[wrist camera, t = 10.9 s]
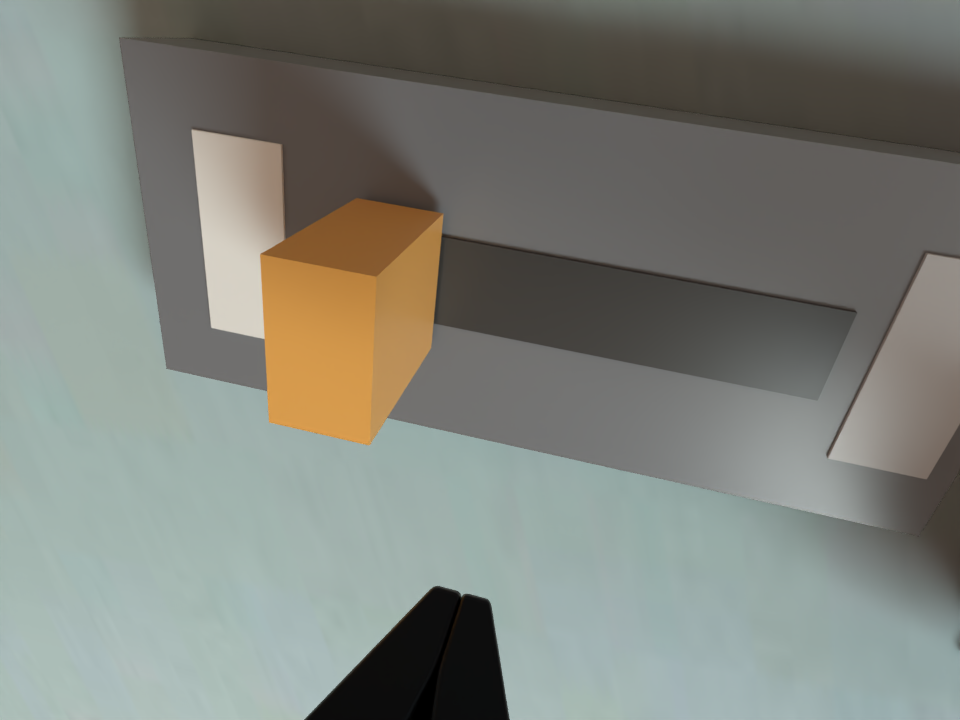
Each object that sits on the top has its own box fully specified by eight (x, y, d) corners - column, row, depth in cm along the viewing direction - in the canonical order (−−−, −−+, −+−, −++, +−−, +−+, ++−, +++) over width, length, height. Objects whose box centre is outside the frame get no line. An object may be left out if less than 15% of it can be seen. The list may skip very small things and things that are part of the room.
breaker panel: (1050, 166, 16) (1137, 191, 13) (881, 473, 20) (920, 538, 18) (189, 38, 19) (116, 37, 16) (217, 332, 23) (164, 370, 21)
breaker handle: (443, 213, 16) (376, 276, 12) (431, 348, 18) (369, 445, 14) (356, 198, 16) (259, 254, 12) (353, 332, 18) (269, 422, 14)
